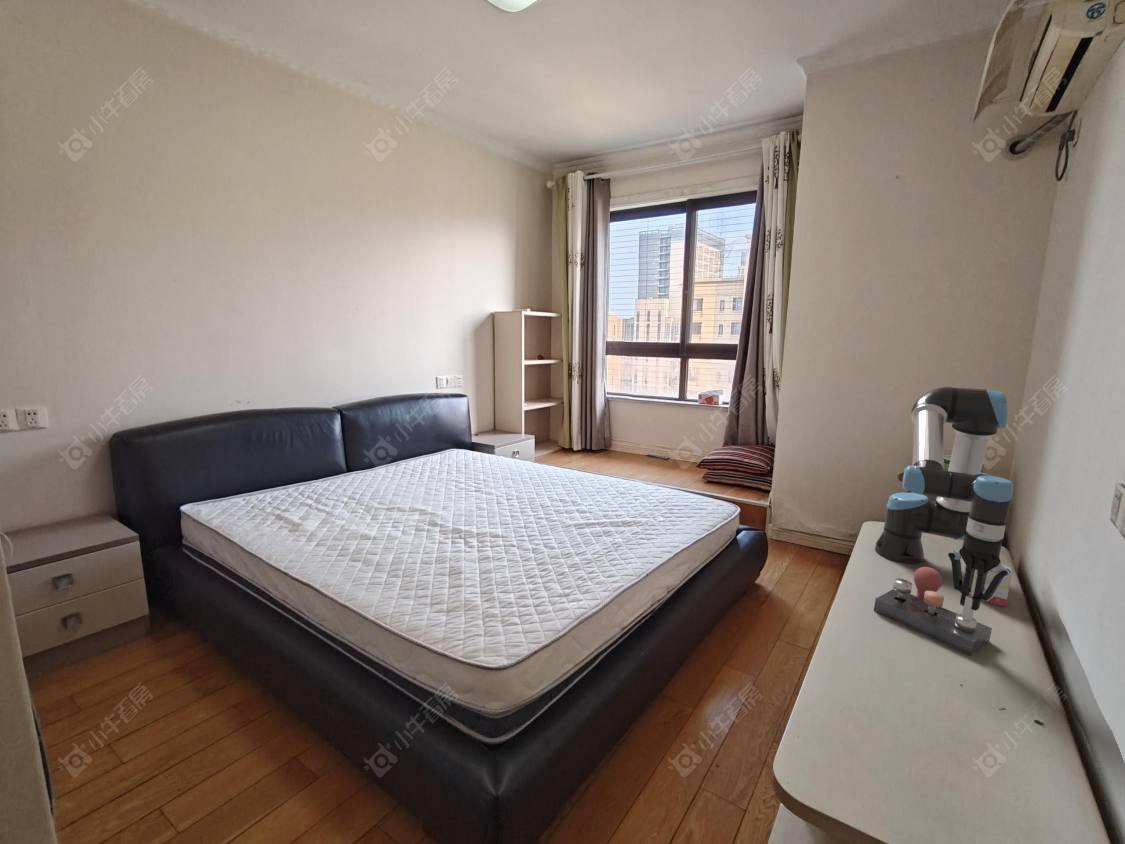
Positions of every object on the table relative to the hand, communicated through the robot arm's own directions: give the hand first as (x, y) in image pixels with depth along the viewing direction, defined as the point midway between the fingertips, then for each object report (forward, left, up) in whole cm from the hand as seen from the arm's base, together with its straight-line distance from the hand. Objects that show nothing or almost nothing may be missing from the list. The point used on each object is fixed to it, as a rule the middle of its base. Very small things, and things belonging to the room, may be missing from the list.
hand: (966, 618), depth 136 cm
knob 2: (0, -8, -3) cm, 9 cm away
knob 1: (0, -16, -3) cm, 16 cm away
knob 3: (0, 0, -6) cm, 6 cm away
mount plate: (0, -8, -7) cm, 11 cm away
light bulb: (-11, -14, -7) cm, 19 cm away
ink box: (-33, -5, -7) cm, 34 cm away
